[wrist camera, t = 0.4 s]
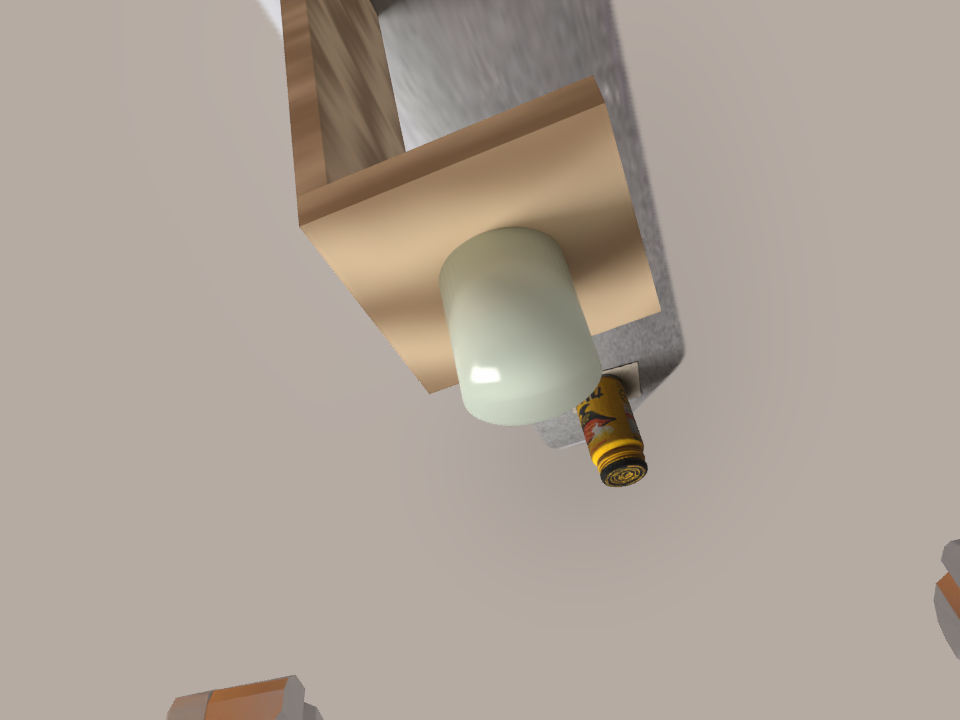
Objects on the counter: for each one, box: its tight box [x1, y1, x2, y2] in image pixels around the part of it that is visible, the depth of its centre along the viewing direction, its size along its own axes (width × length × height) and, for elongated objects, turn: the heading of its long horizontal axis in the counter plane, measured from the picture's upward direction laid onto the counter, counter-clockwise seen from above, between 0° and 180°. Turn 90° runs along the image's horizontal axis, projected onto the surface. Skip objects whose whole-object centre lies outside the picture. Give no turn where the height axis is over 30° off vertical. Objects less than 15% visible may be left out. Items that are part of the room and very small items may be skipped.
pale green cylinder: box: [438, 227, 602, 425], centre depth 31 cm, size 5×5×5 cm
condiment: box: [573, 362, 648, 487], centre depth 95 cm, size 7×8×12 cm
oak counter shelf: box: [280, 0, 661, 394], centre depth 41 cm, size 12×11×30 cm
